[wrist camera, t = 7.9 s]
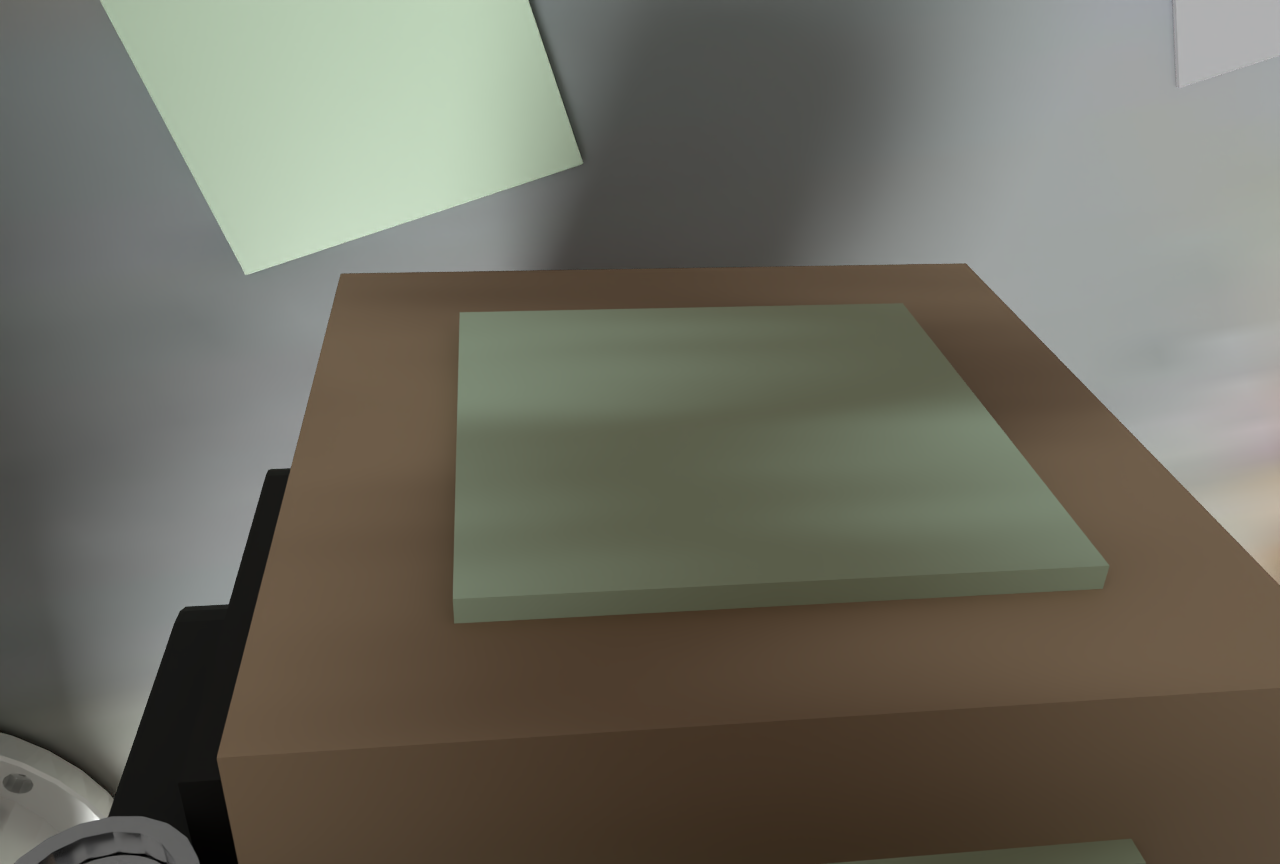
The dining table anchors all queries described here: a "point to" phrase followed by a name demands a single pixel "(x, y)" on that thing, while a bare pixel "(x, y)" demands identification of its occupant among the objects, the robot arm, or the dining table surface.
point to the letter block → (739, 590)
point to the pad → (346, 110)
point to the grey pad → (1223, 36)
